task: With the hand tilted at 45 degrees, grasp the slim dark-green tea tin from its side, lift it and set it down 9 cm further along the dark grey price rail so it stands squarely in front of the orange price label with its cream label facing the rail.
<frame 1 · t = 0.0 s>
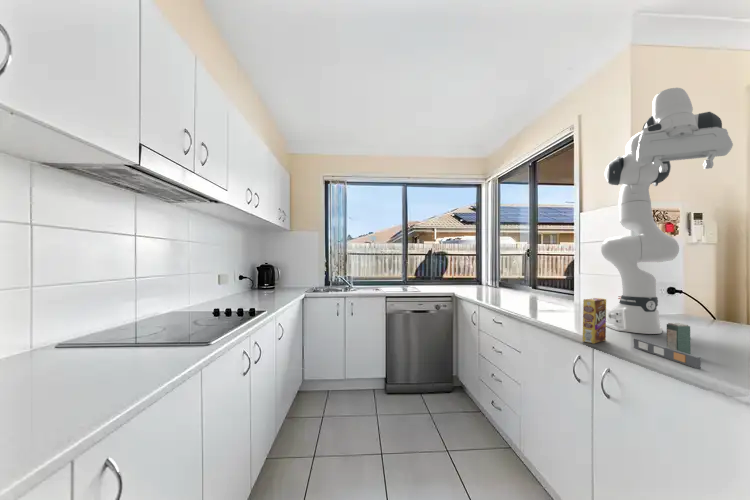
hand: (686, 169, 95), 54 cm above the counter, tool tilted 30°, fingers open, 8 cm apart
tea tin: (678, 353, 111), on the counter
candy box: (594, 341, 127), on the counter
price rail: (663, 356, 108), on the counter
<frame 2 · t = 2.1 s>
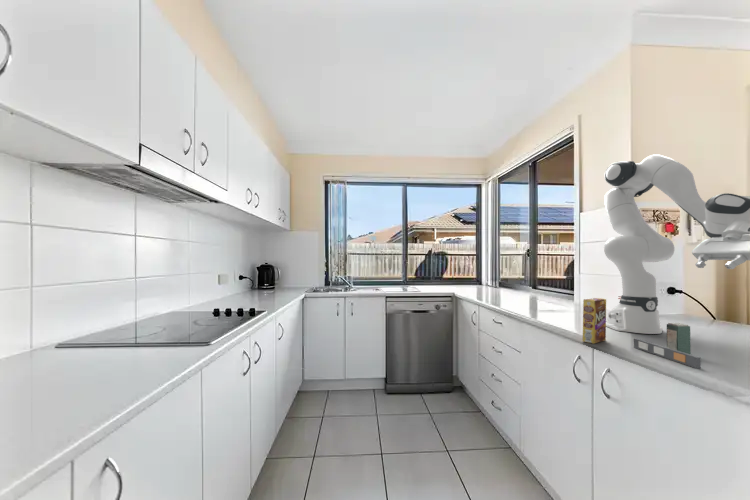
hand: (712, 267, 112), 27 cm above the counter, tool tilted 45°, fingers open, 8 cm apart
nothing on the counter moved.
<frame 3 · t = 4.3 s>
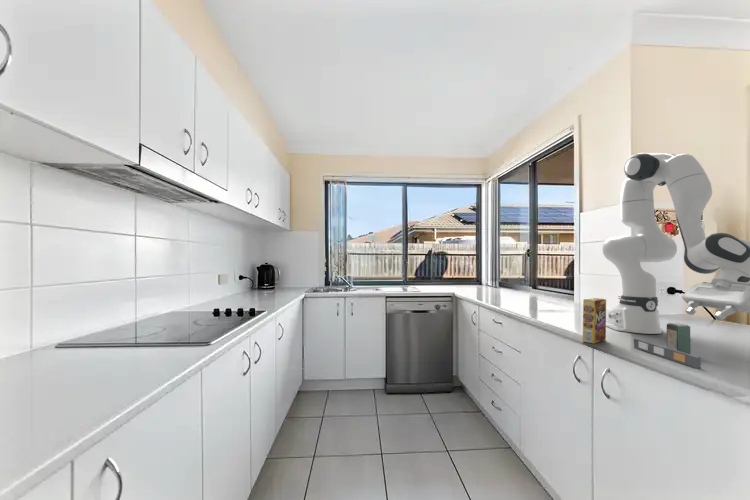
hand: (702, 315, 111), 12 cm above the counter, tool tilted 45°, fingers open, 8 cm apart
nothing on the counter moved.
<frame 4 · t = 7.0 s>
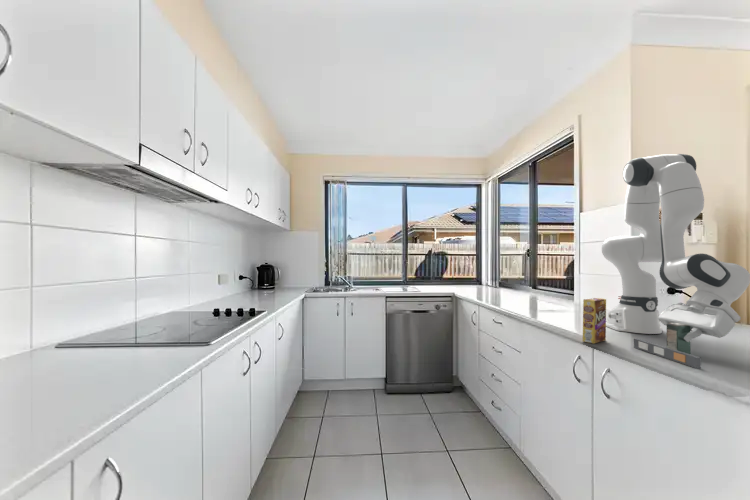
hand: (676, 338, 111), 5 cm above the counter, tool tilted 45°, fingers closed on tea tin, 4 cm apart
tea tin: (678, 353, 111), on the counter, touching gripper
everything else where it was.
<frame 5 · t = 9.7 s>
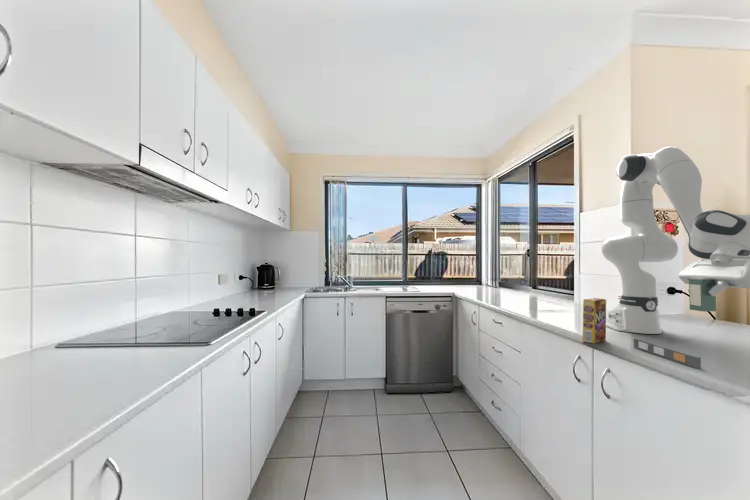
hand: (700, 293, 103), 20 cm above the counter, tool tilted 45°, fingers closed on tea tin, 4 cm apart
tea tin: (702, 310, 103), point 15 cm above the counter, touching gripper
everything else where it was.
when the fingers open (6 cm above the counter, at t = 12.7 s): tea tin drops 2 cm, on the counter.
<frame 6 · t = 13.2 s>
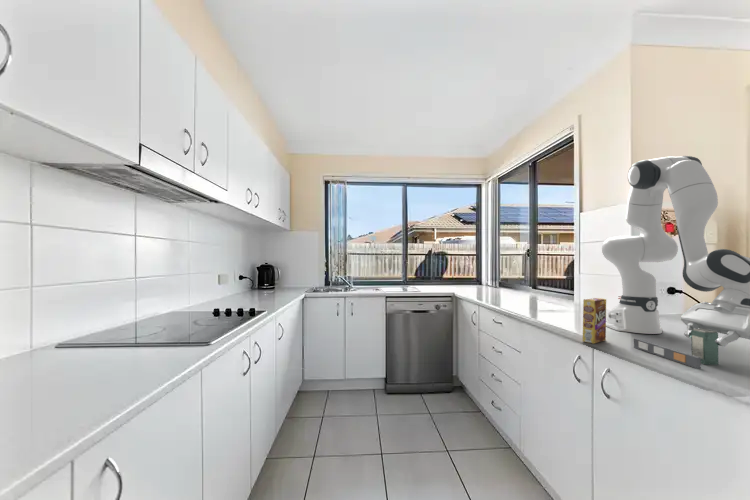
hand: (702, 340, 102), 6 cm above the counter, tool tilted 45°, fingers open, 8 cm apart
tea tin: (704, 362, 102), on the counter
everything else where it was.
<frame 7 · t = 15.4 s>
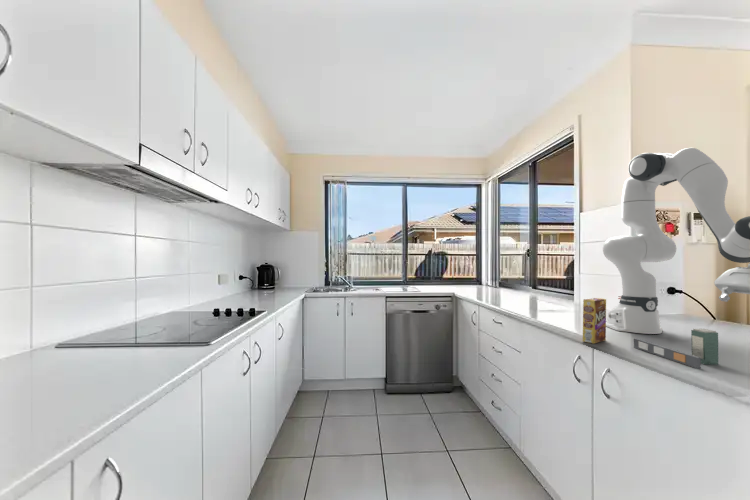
hand: (739, 302, 103), 17 cm above the counter, tool tilted 45°, fingers open, 8 cm apart
nothing on the counter moved.
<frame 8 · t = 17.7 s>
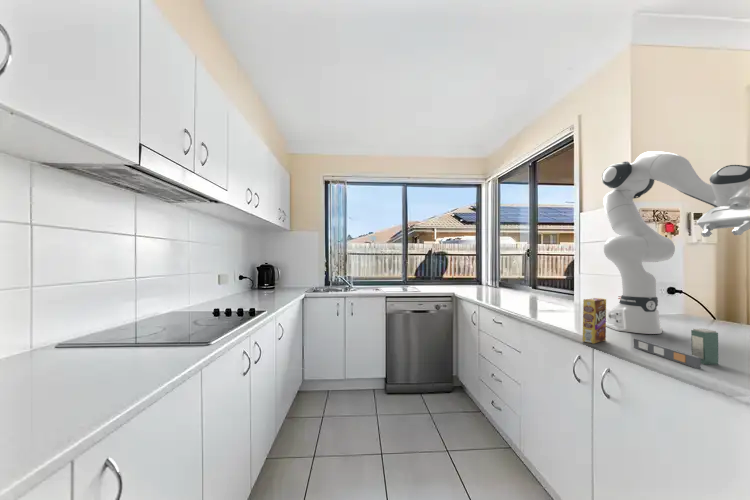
hand: (719, 234, 109), 37 cm above the counter, tool tilted 45°, fingers open, 8 cm apart
nothing on the counter moved.
at the end: tea tin inside the target area (0.0 cm from its centre), on the counter; tea tin tilted 0°; the gripper is holding nothing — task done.
